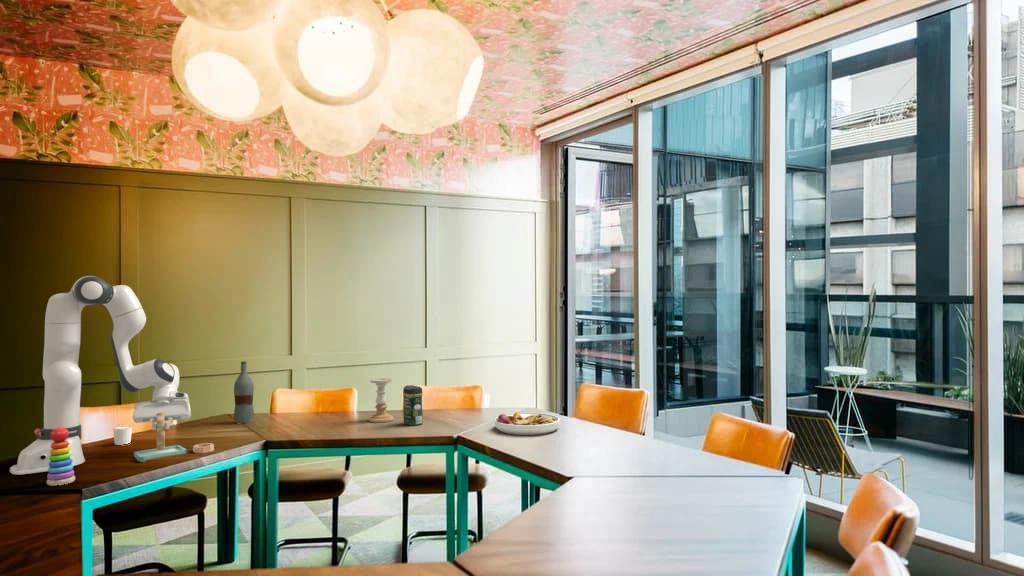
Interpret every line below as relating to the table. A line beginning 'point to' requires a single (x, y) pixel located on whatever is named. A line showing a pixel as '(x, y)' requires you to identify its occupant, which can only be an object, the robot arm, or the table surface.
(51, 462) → the stacking toy
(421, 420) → the coffee jar
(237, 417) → the bottle
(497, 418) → the bowl
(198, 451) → the wooden ring
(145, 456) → the tray
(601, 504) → the table surface
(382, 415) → the candle holder
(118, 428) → the white tapered pot
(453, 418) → the table surface
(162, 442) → the dowel
